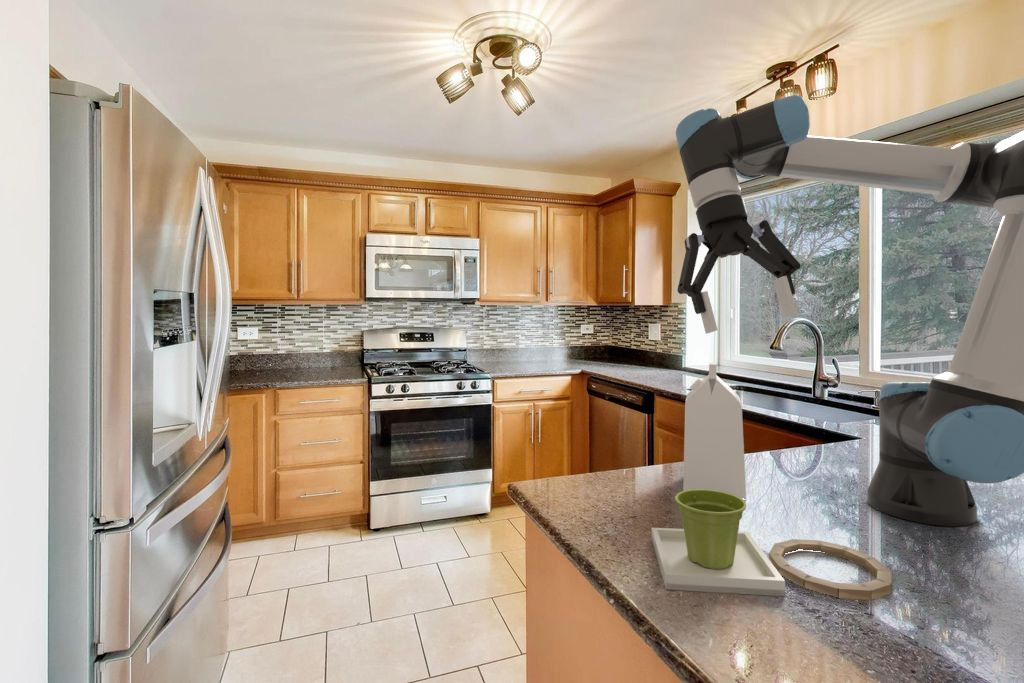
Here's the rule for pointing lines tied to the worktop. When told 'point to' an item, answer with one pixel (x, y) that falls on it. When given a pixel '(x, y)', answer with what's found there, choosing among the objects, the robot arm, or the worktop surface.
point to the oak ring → (840, 590)
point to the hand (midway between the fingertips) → (751, 324)
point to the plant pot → (710, 525)
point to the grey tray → (741, 578)
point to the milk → (714, 437)
